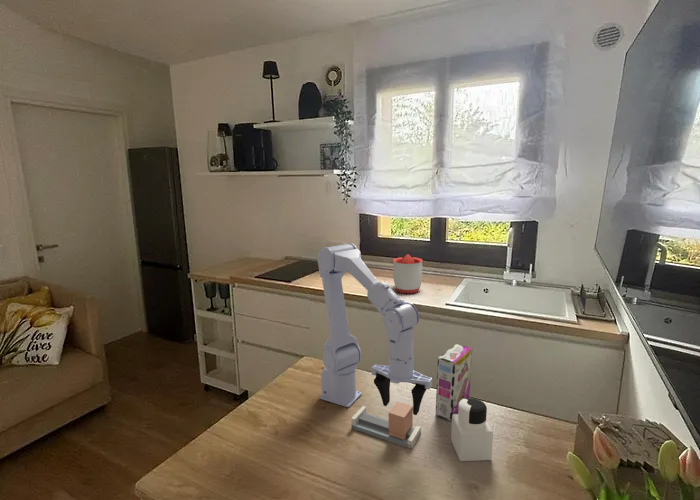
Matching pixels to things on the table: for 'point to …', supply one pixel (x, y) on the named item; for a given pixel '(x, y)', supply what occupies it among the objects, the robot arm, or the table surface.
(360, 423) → the rail
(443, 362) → the candy bar box
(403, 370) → the robot arm
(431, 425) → the table surface
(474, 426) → the medicine bottle
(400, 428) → the pink rectangular block
